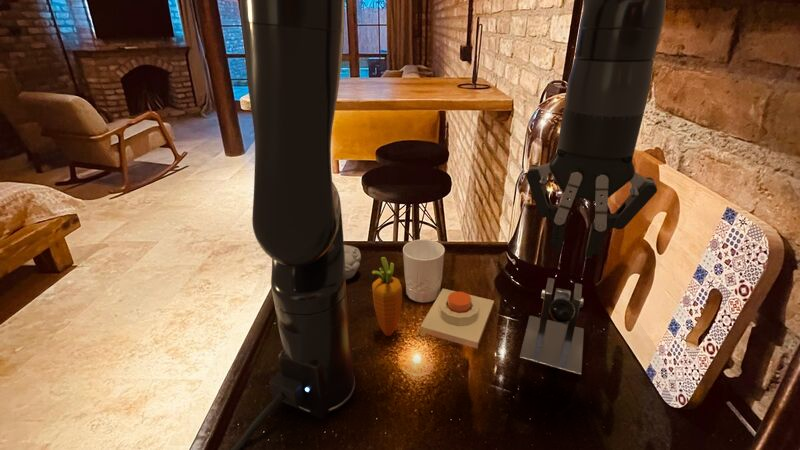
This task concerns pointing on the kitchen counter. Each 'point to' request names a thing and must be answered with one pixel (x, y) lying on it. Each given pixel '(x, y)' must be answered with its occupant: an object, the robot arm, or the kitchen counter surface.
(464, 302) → the button
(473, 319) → the control block
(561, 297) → the lever
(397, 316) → the carrot
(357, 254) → the frog figurine
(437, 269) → the white cup
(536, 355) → the bracket
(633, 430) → the kitchen counter surface
